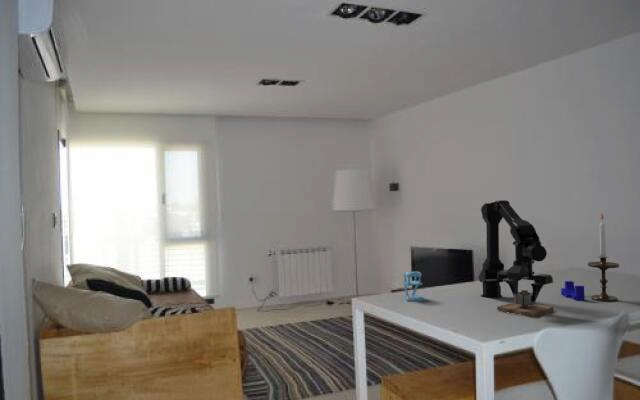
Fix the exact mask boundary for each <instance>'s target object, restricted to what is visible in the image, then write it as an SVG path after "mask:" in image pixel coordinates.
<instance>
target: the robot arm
mask: <svg viewBox="0 0 640 400" xmlns="http://www.w3.org/2000/svg"><path fill="white" fill-rule="evenodd" d="M480 212H481V215H482V216H481V217H482V219H483V221H484V223H486V225H485V226H486V227H485V228H486V258H485V260H484V261H483V263H482V269H481V271H480V273H479V275H478V280H479V282H480V283H481V284H482V294H480V296H481V297H484V298H491V299H497V298H500V297H503V295H502V293H501V292H502V287H501V283H506V284H508V286H509V288H510V290H511V293H512V295H513V297H514V293H515V292H519V281H522V280H527V281H533V283H530V285H531V287H532V293H533V294H532V298H533V302H535V303H536V301H537V299H538V298H539V297H538V296H539V294H540V292H541V290H542V289H543V287H544V285H548V284H553V283H554V279H553V276H552V275H551V274H545V273H544V274H543V273H539V274H536V275H535V271H533V269H534V268H533V264H535V262H543V261H544V260H545V259H546V257H547V256H548V255H547V252H548V251H547V250H546V247H544V246H543V245H542V242H541V240H540V237H539V234H538V233H537V231H536V228H535V227H534V225H533V224H532V223H530V222H529V221H527V220H525V219H524V218H523V219H522V218H521V216H520V215H518V213H517V212H516V211H515V209H514V208H513V207H512V205H511V204H510V202H509V200H507V199H506V200H505V199H504V200H503V199H501V200H500V199H498V200H496V201H493V202H486V203H484V204H483V205H482V206H481V209H480ZM502 220H504V221H505V222H506V223H507V225H508V226H509V228H510V229H509V233H510V235H511V236H512V238H513V239H514V241H513V242H512V245H514V247H515V248H514V250H515V254H514V255H515V260H513V263H512V266H510V267H509V268H508V269H505V265H504V263H503V262H502V261H501V260H500V229H499V227H500V226H499V225H500V223H501V222H502Z"/></svg>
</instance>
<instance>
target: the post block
mask: <svg viewBox="0 0 640 400" xmlns="http://www.w3.org/2000/svg"><path fill="white" fill-rule="evenodd" d="M520 292H522V295H528V292H529V291H528V290H526V289H522V290H521V291H520ZM496 308H497V310H499V311H498V312H501V311H503V312H502V313H506V312H509V313H508V314H511V313H515V314H514V315H517V314H521V315H520V316H522V315H525V316H524V317H527V316H529V317H528V318H537V317H540V316H543V315H545V314H549V313H553V312H554V306H549V305H543V304H538V303H536V304H534V305H520V304H516V303H515V302H514V301H513V302H510V303H506V304H503V305H499V306H497V307H496Z"/></svg>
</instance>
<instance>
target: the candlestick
mask: <svg viewBox="0 0 640 400" xmlns="http://www.w3.org/2000/svg"><path fill="white" fill-rule="evenodd" d="M600 219H601V220H600V221H601V222H600V223H599V254H600V256H598V258H599V261H590V262H587V267H591V268H597V269H599V271H600V270H601V279H599V283H600V284H601V286H600V288H601V293H600V294H594V295H590V297H591V298H590V299H591V300H592V301H596V302H601V303H602V302H603V303H604V302H606V303H614V302H618V297H617V296H613V295H608V293H607V288H608V286H607V284H608V279H606V271H607V270H609V269H617V268H620V264H619V263H617V262H611V261H607V258H609V256H606V255H607V254H606V252H607V251H606V249H607V248H606V223H604V215H603V212H601V214H600Z"/></svg>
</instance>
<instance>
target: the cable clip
mask: <svg viewBox="0 0 640 400" xmlns="http://www.w3.org/2000/svg"><path fill="white" fill-rule="evenodd" d="M574 283H575V282H574V281H573V280H565V281H564V287H563V288H562V287H561V288H560V290H561V291H560V293H561V294H560V295H561V296H562V295H563V296H562V297H565V298H566V299H570V298H571V299H572V300H574V301H576V302H584V301H585V286H584V285H575V284H574Z"/></svg>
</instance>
